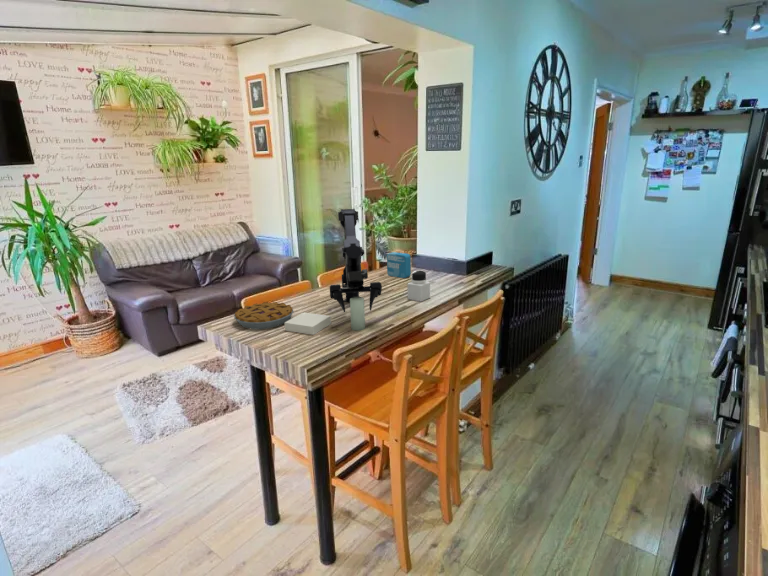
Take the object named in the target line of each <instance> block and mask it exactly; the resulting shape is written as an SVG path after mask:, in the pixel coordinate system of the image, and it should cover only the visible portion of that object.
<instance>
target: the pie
mask: <svg viewBox="0 0 768 576" xmlns="http://www.w3.org/2000/svg"><path fill="white" fill-rule="evenodd" d="M294 312H295V311H294V308H293V307H292V306H291V305H290V304H286V303H284V302H281V303H279V302H276V301H274V302H269V301H267V302H265V301H264V302H262V303H253V304H252V305H245V306H244V307H243V308H240V309H237V310H236V312H235V313H234V315H233V318H234V320H236V321H237V323H238V324H239V326H241V325H242V326H241V327H243V328H245V327H246V329H250V328H251V330H265V329H271V328H274V327H279V326H281V325H283V324H284V325H285V322H287V321H288V320H290V319H292V316H293V313H294Z"/></svg>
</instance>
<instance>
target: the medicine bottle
mask: <svg viewBox="0 0 768 576" xmlns="http://www.w3.org/2000/svg"><path fill="white" fill-rule="evenodd" d="M430 298H431V282H430V281H427V273H426V271H423V270H414V271H411V282H408V283H407V300H411V301H417V302H420V303H421V302H423V301H426V300H428V299H430Z"/></svg>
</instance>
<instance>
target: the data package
mask: <svg viewBox="0 0 768 576" xmlns="http://www.w3.org/2000/svg"><path fill="white" fill-rule="evenodd" d="M411 262H412V261H411V254H409V253H404V252H397V251H396V252H395V251H392V252H389V253H387V255H386V272H387V275H388V276H390V277H393V278H399V279H400V278H401V279H407V278H409V277H410V276H412V271H411V270H412V269H411V268H412V266H411V265H412V264H411Z"/></svg>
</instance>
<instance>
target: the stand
mask: <svg viewBox="0 0 768 576" xmlns="http://www.w3.org/2000/svg"><path fill="white" fill-rule="evenodd" d="M331 324H332V316H331V315H327V314H326V315H325V314H319V313H312V312H305V311H304V312H301V313H300V314H298V315H296V316H294V317H291V318H290V320H288V321H287V322H285V323H284V330H285V331H287V332H292V333H294V332H295V333H298V334H299V333H300V334H306V335H312V336H313V335H315V334H317V333H319V332H321V330H324V329H325V328H326V327H328V326H329V325H331Z"/></svg>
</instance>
